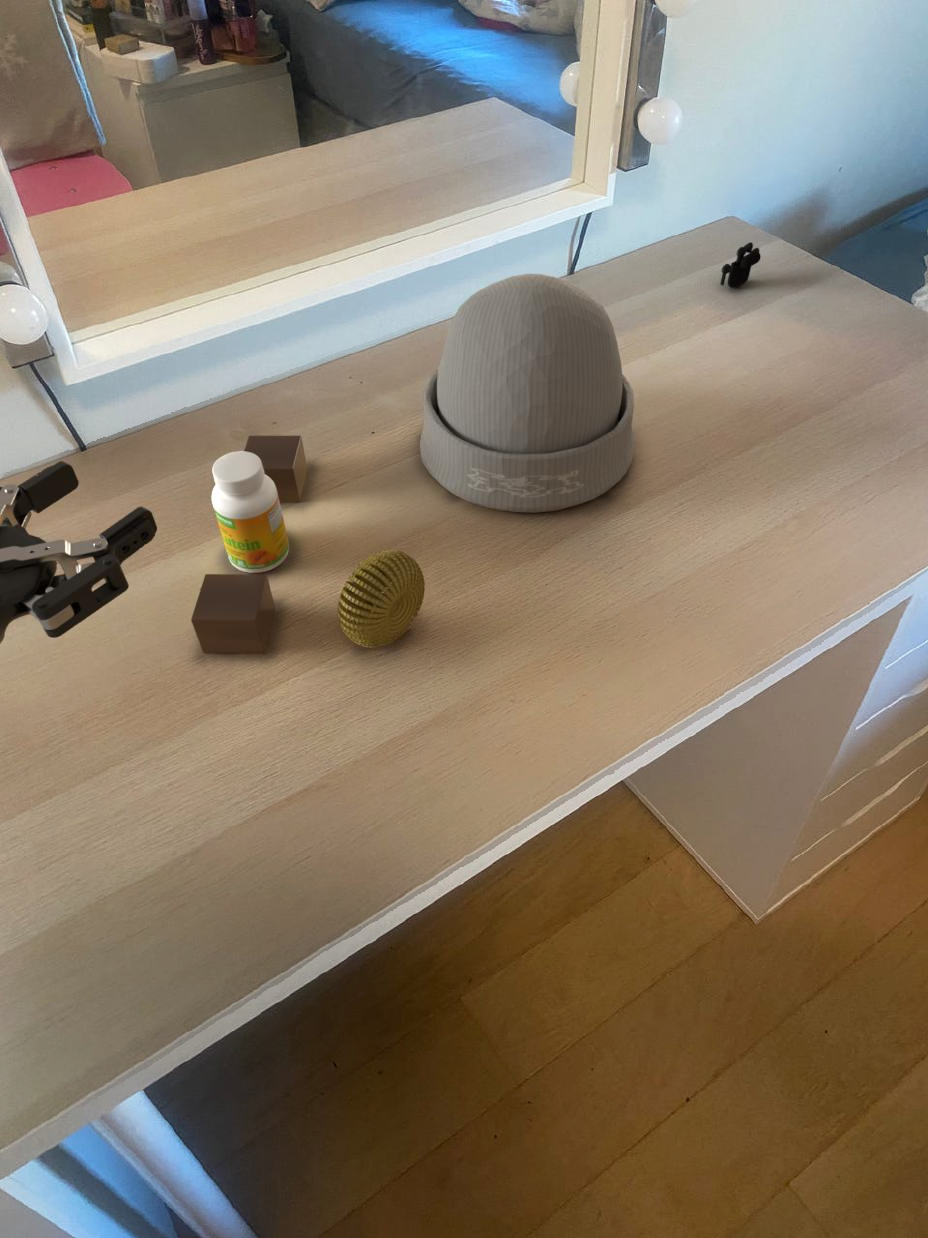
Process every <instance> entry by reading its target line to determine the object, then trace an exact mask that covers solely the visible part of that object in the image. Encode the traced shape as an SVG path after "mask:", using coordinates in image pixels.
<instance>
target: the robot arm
mask: <svg viewBox="0 0 928 1238" xmlns="http://www.w3.org/2000/svg"><path fill="white" fill-rule="evenodd" d="M79 484H80V481H79V479H78V477H77V474H76V472H75V470H74V468H73V466H72V465H71V464H69V463H67V462H66V461H64V460H59V461H58V462H56V463H55V464H53V465H50V466H48V467H46V468H44V469H43V470H41V471H39V472H37V473H36V474H34V475H33V476H31V477H30V478H28V479H27V480H25V481H23V482H21V483H20V484H19V485H17V484H14V483H13V484H12V483H11V484H7V485H4V486H0V644H2V642H3V641H4V639H5V637H6V631H7V629H8V627H9V625H10V624H11V623H12V622H13V621H15V620H17V619H20V618H22V617H25V616H28V615H31V616H32V617H33V618H34V619H35V620H37V621H38V622H39V624H40V625H41V627H42V629H43V630H44V632H45V634H46V635H47V637H49V638H52V639H53V638H54V639H56V638H59V637H61V636H63V635H64V634H66V633H68V631H70V630H71V629H73V628H74V627H75V626H77V625H79V624H81V623H82V622H83V621H85V620H86V619H87V618H89V617H90V616H92V615H93V614H95V613H96V612H97V611H99V610H101V609H102V608H103V607H105V606H106V605H108V604H109V603H110V602H112V601H113V600H115V599H117V598H118V597H119V596H121V595H122V594H123V593H125V592H126V591H127V590H128V589H129V586H130V584H129V582H128V580H127V578H126V574H125V573H124V571H123V568H122V566H121V565H122V564H123V563H124V561H126V560H127V559H129V558H131V556H133V555H134V554H135V553H137V552H138V551H140V549H142V548H144V547H145V545H147V544H149V543H151V542H152V541H153V539H154V538H155V537H156V533H157V531H158V525H157V523H156V520H155V517H154V515H153V512H152V511H151V510H149V509H148V508H146V507H144V506H138V507H136V508H135V509H133V510H132V511H130V512H129V513H128V514H126V515H125V516H124V517H122V518H121V519H119V520H118V521H117V522H115V523H114V524H112V525H111V526H109V527H108V528H106V529H105V530H103V531H102V532H101V533H99V537H97V538H91V539H87V540H82V541H77V542H69V541H68V540H65V539H58V540H57V539H56V540H52V541H51V540H50V541H46V540H44V539H43V538H41V537H40V536H35V535H33V534H29V532H28V531H27V529H26V528H27V526H28V524H29V522H30V520H31V516H32V512H31V511H33V512H34V513H36V514H40V513H42V512H44V511H45V510H46V509H48V508H49V507H51V506H52V505H54V504H55V503H57V502H59V501H60V500H62V499H63V498H64V497H66V496H68V495H69V494H71V493H73V492H74V491H75V490H77V489H78V487H79ZM90 558H93V561H94V562H89V563H85V564H82V563H79V562H78V561H81V560H85V559H90ZM58 564H59V565H60V567H61V570H62V572H63V573H62V574H57V575H56V573H57V570H58ZM102 580H104V583H103V584H101V585H100V586H98V587H97V588H95V589H94V590H93V587H94V586H95V585H96V584H98V583H99V582H100V581H102Z"/></svg>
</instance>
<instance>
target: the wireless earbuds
mask: <svg viewBox="0 0 928 1238" xmlns="http://www.w3.org/2000/svg"><path fill="white" fill-rule="evenodd" d="M761 256H762V255H761V253H760V248H759V247H755V248H754V244H753V242H751V241H750V242H748V243H746V244H744V246H740V247H739V248H738V249H737V251H736V260H735V261H733V262H731V264H729V263H725V264H723V266H722V268H721V278H720V284H719V285H720V286H722V287H723V286H725V281H726V277H727V274H728V278H727V285H728V287H729V288H731V289H736V288H738V287H740V286H741V285H743V284H745V283H746V282H747V281H748V280H749V278H750V275H751V274H750V273H751V269H752V267H753V266H755V265H756V264H758V263H759V262H760V260H761V258H762V257H761Z"/></svg>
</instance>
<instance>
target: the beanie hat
mask: <svg viewBox="0 0 928 1238" xmlns="http://www.w3.org/2000/svg"><path fill="white" fill-rule="evenodd" d="M422 399H423V414H424V415H423V416H424V421H423V422H424V423H423V427H422V431H421V436H420V441H419V451H420V458H421V461H422V464H423V465H424V467H425V468H426V470H427V471H428V473H429V474H430V476H431V477H432V478H434V480H435V481H437V483H438V484H439V485H440V486H442V487H443V488H444V489H445V490H446V491H448V492H450V493H451V494H452V495H454V496H456V497H458V498H460V499H462V500H464V501H466V502H468V503H470V504H474V505H477V506H480V507H484V508H487V509H491V510H496V511H502V512H503V511H504V512H510V513H511V512H513V513H532V514H533V513H534V514H535V513H536V514H537V513H544V512H553V511H555V512H556V511H560V510H563V509H567V508H571V507H574V506H579V505H581V504H584V503H586V502H589V501H592V500H594V499H596V498H599V497H600V496H602V495H604V494H605V493H606V492H608V491H609V490H610V489H611V488H613V487H614V486H615V485H617V484H618V483H619V482H620V481H621V480H622V479H623V477H624V476H625V475H626V473H627V472H628V471H629V469H630V466H631V464H632V462H633V460H634V455H635V447H636V441H635V436H634V435H635V434H634V430H633V426H632V425H633V417H634V410H635V402H634V400H635V399H634V390H633V388H632V385H631V383H630V382H629V380H628V378H627V377H626V376H625V375H624V374H623V367H622V360H621V354H620V349H619V345H618V340H617V336H616V332H615V329H614V326H613V323H612V321H611V318H610V316H609V314H608V313H607V311H606V310H605V308H604V306H603V304H601V303H600V302H599V301H598V300H597V299H596V298H595V297H594V296H593V295H591V294H590V293H588V292H586V291H585V290H583V289H581V288H580V287H578V286H576V285H575V284H574V283H571V282H569V281H566V280H563V279H561V278H559V277H556V276H552V275H546V274H543V273H524V274H518V275H512V276H508V277H506V278H503V279H501V280H499V281H496V282H493V283H491V284H489V285H487V286H485V287H484V288H481V289H479V290H478V291H476V292H474V293H472V295H470V296H469V297H468V298H467V299H466V300H465V301H464V302H462V304H460V306H458V308H457V310H456V313H454V316H453V318H452V320H451V322H450V324H449V329H448V332H447V335H446V339H445V342H444V345H443V348H442V352H441V355H440V360H439V366H438V369H436V370H435V372H434V373H433V374H432V375H431V376H430V377H429V378H428V379H427V380H426V382H425V386H424V388H423V397H422Z"/></svg>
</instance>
